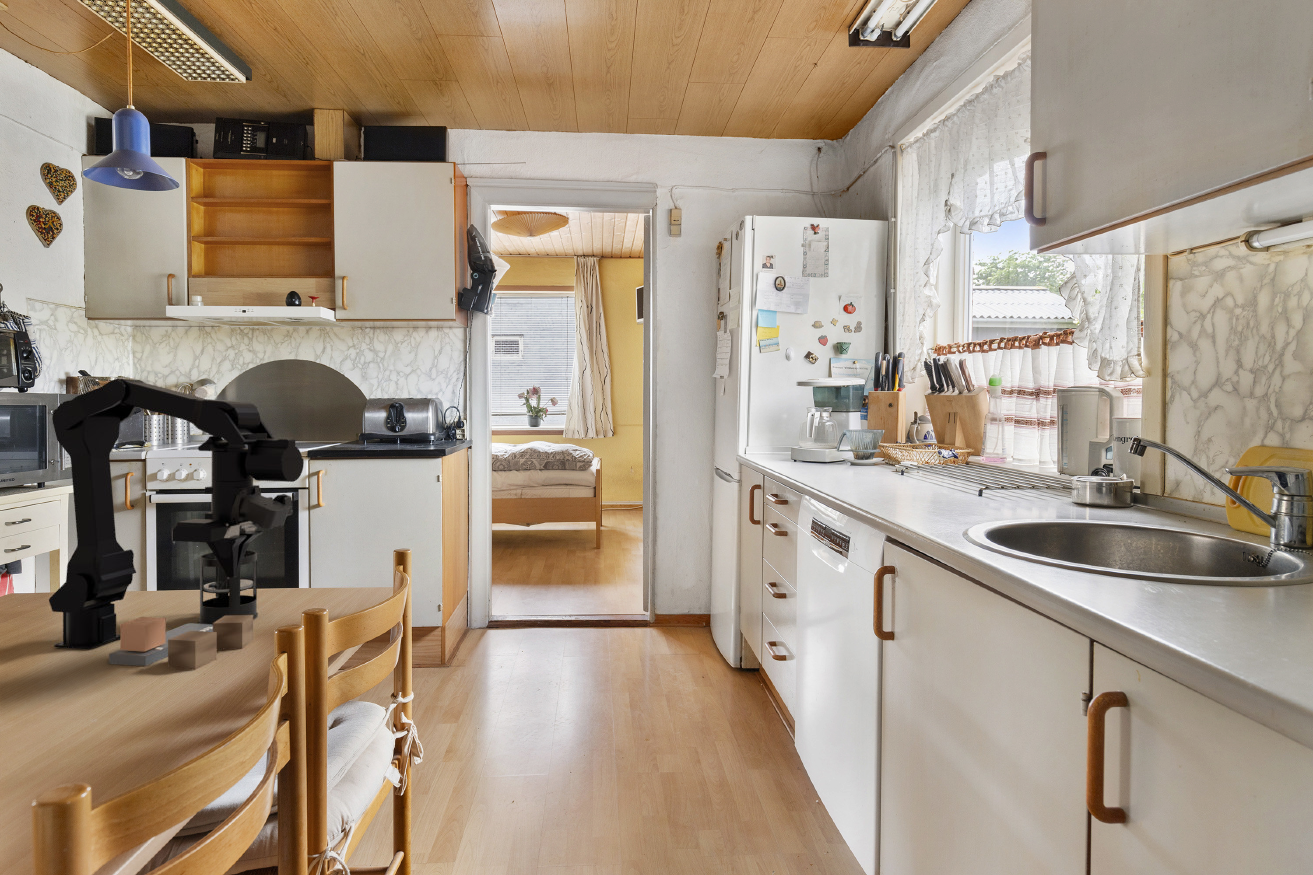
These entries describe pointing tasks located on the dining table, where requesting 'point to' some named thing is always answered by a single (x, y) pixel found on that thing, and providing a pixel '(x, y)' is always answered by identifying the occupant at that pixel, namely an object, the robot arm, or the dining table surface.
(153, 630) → the salmon pink cube
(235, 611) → the french press
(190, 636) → the walnut block near
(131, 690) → the dining table surface
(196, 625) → the base
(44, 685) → the dining table surface
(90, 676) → the dining table surface
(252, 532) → the robot arm
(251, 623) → the walnut block far
